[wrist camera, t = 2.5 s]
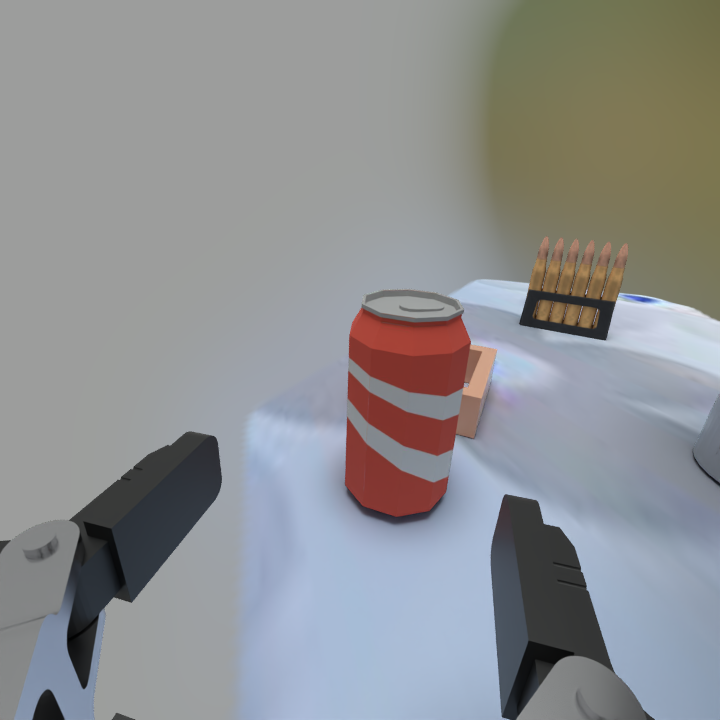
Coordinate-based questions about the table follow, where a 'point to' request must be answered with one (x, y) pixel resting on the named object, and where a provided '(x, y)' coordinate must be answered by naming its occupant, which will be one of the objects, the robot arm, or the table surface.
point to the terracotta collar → (475, 389)
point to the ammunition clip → (573, 291)
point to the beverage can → (404, 398)
